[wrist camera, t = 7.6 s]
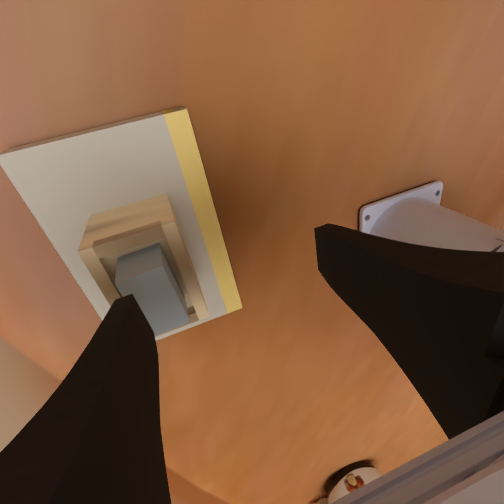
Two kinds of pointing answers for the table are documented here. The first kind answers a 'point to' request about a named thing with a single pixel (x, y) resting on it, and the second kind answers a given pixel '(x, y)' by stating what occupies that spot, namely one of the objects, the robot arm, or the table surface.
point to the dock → (125, 194)
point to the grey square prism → (153, 287)
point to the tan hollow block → (138, 237)
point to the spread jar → (350, 480)
